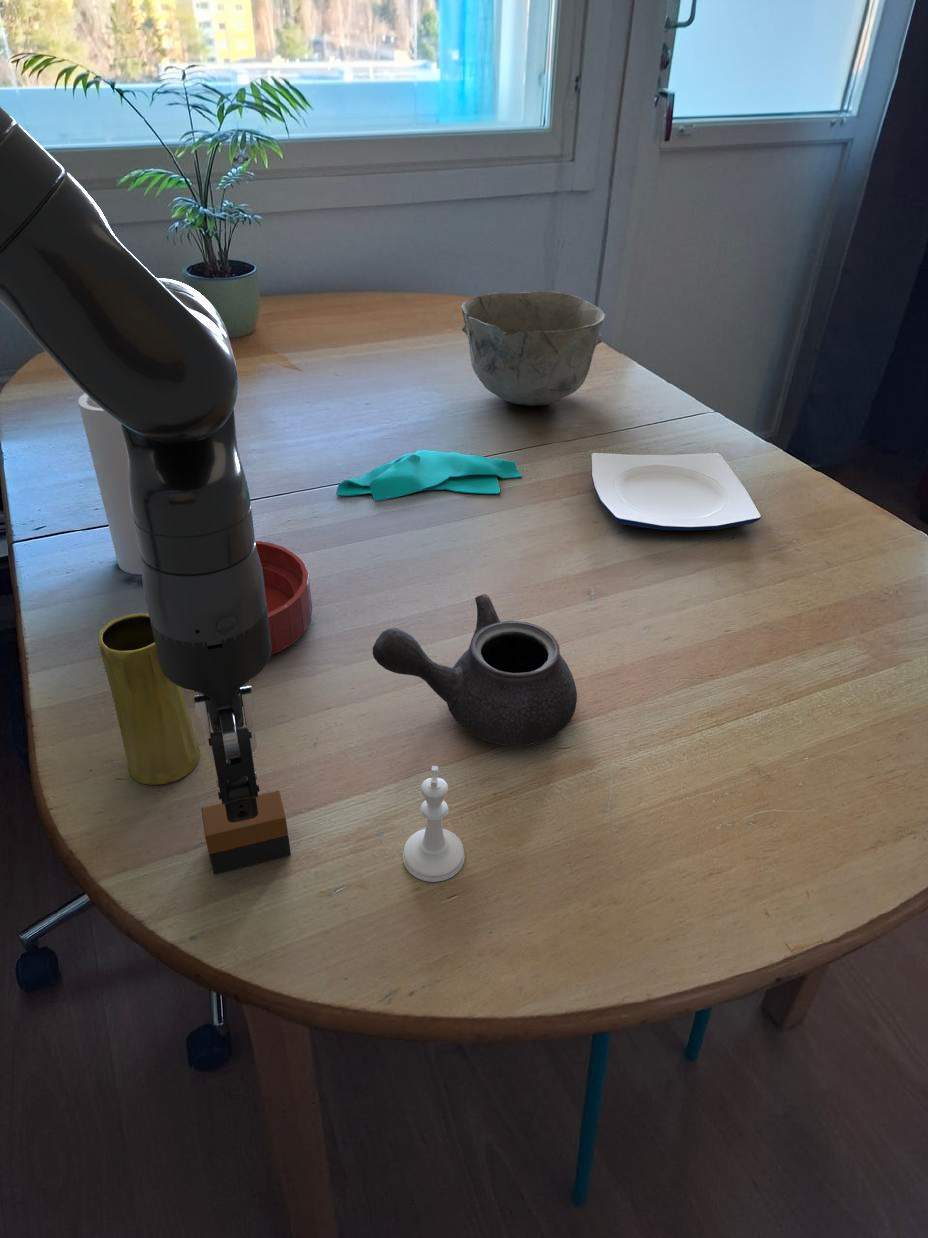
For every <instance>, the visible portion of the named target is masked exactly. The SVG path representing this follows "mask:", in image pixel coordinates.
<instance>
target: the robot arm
mask: <svg viewBox="0 0 928 1238" xmlns="http://www.w3.org/2000/svg"><path fill="white" fill-rule="evenodd" d="M0 303H1V304H2V305H3V306H4V307H5V308H6V309H7V310H8V311H9V312H10V313H11V314H12V315H13V316H14V317H15V318H16V320H17V321H18V322H19V323H20V324H21V325H22V326H23V327H24V329H25V330H26V331H27V333H28V334H29V335H30V336H31V337H32V338H33V340H35V342H36V343H37V344H38V345H39V346H40V347H41V348H42V349H43V350H44V351H45V353H47V355H48V356H49V357H50V358H51V359H52V360H53V361H54V362H55V363H56V364H57V366H59V368H61V369H62V371H63V372H64V373H65V374H66V375H67V376H68V377H69V378H70V379H71V380H72V381H73V382H74V384H76V385H77V386H78V387H79V388H80V390H81V391H83V392H84V394H85V393H86V394H87V395H88V396H89V397H90V398H91V399H92V400H93V401H94V402H95V403H96V404H97V405H98V406H100V407H101V408H102V409H103V410H104V411H105V412H107V413H108V414H109V415H110V416H112V417H113V418H114V419H115V420H117V421H118V422H120V423H121V427H122V431H123V435H124V440H125V444H126V448H127V453H128V461H129V495H130V505H131V511H132V517H133V521H134V526H135V530H136V535H137V540H138V545H139V549H140V553H141V561H142V575H141V581H142V587H143V593H144V598H145V603H146V607H147V612H148V614H149V617H150V622H151V627H152V631H153V636H154V641H155V645H156V650H157V655H158V659H159V664H160V668H161V670H162V672H163V674H164V675H165V676H166V677H167V678H168V679H169V680H170V681H171V682H172V683H174V684H176V685H178V686H180V687H182V689H186V690H188V691H193V693H197V694H193V696H192V697H193V702H194V709H195V715H196V718H197V719H198V720H199V721H200V722H201V728H202V735H203V740H204V746H205V751H206V756H207V758H208V759H209V760H212V761H213V762H214V766H215V771H216V772H215V773H216V777H217V779H216V786H217V788H218V789H219V791H218V792H217V795H218V800H221V803H222V804H225V809H226V814H227V820H228V821H229V822H239V821H243V820H248V819H252V818H255V817H256V816H257V815H258V808H257V801H256V797H258V795H259V792H261V791H260V790H261V789H260V784H259V783H257V780H258V777H257V772H256V771H255V764H254V758H253V752H255V751H256V750H257V747H258V743H257V738H256V731H255V724H254V718H253V710H254V708H255V702H254V696H253V690H252V685H246V684H249V683H250V681H251V680H254V678H256V677H257V676H258V675H260V674H261V673H262V672H263V671H264V670H265V668H266V667H267V666H268V664H269V662H270V660H271V657H272V655H271V651H272V647H271V638H270V630H269V621H268V612H267V604H266V596H265V587H264V577H263V571H262V566H261V562H260V558H259V555H258V552H257V548H256V542H255V540H256V537H255V529H254V528H255V527H254V520H253V511H252V504H251V496H250V490H249V485H248V482H247V478H246V473H245V470H244V467H243V463H242V460H241V456H240V452H239V448H238V439H237V429H236V427H237V426H236V416H235V406H236V403H237V399H238V394H239V384H240V383H239V370H238V365H237V361H236V358H235V355H234V351H233V348H232V344H231V341H230V337H229V333H228V330H227V327H226V325H225V323H224V320H223V319H222V317H221V315H220V313H219V312H218V310H217V309H216V308H215V306H214V305H213V304H212V303H211V302H210V301H209V300H208V298H206V297H205V296H204V295H202V294H201V293H200V292H199V291H197V290H196V289H194V288H193V287H191V286H189V285H187V284H185V283H184V282H183V283H182V282H181V281H178V280H174V279H169V278H160V277H159V278H157V277H155V275H154V274H153V273H152V272H151V271H150V270H148V268H147V267H145V266H144V264H142V263H141V262H140V260H139V259H137V258H136V257H135V256H134V254H132V253H131V252H130V251H129V250H128V249H127V248H126V247H125V246H124V244H123V243H121V241H120V240H119V239H118V238H117V236H115V233H114V232H113V231H112V228H111V226H110V225H109V223H108V220H107V219H106V217H105V216H104V213H103V211H102V210H101V208H100V207H99V205H98V204H97V203H96V202H95V200H94V199H93V198H92V197H91V196H90V194H88V192H87V191H86V190H85V188H83V186H82V185H81V184H80V183H79V182H78V181H77V180H76V179H75V178H74V177H73V176H72V175H71V174H70V173H69V172H68V171H65V168H64V167H63V166H62V165H61V163H59V162H58V161H57V160H56V159H55V158H54V157H53V156H52V155H51V154H50V153H49V152H48V151H47V150H46V149H45V148H44V147H43V146H42V145H41V144H40V143H39V142H38V141H37V140H36V139H34V137H32V136H31V134H29V132H27V130H25V128H24V127H22V125H20V123H18V122H16V120H15V119H14V118H13V117H12V116H11V114H9V112H7V111H6V110H5V109H4V108H3V107H2V106H1V105H0Z"/></svg>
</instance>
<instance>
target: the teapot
mask: <svg viewBox="0 0 928 1238" xmlns="http://www.w3.org/2000/svg"><path fill="white" fill-rule="evenodd" d="M474 600H475V604H476V626H475V628H474V631H473V635H472V637H471V640H470V642H469V647H468V648H467V650H466V651H465V652H464V653H463V654H462V655H461V656H460V658H459V659H457V662H456V663H455V664H454V666H453V667H451V666H446V665H443V664H439V663H437V662H435V661H433V660H432V659H431V658H430V657H429V656H428V655H427V654H426V652H425V651H424V650H423V648H422V646H421V645H420V643H419V642H418V641H417V640H416V639H415V637H414V636H413V635H411V634H410V633H408V632H406V631H404V630H402V629H400V628H397V627H390V628H387V629H385V630H383V631H382V632H381V633H380V635H379V636H378V637H377V638H376V640H375V642H374V644H373V646H372V656H373V659H374V661H376V663H377V664H378V665H379V666H381V667H382V668H384V669H385V670H387V671H389V672H392V673H394V674H398V675H407V676H413V677H418V678H419V679H421V680H423V681H424V682H425V683H426V684H427V685H428V687H429V688H430V689H431V690H433V692H434V693H435V694H436V695H438V697H440V698H441V699H442V700H443V701H444V702H445V703H446V705H447V708H448V711H449V714H451V716H452V717H453V719H454V720H455V722H456V723H457V724H458V725H460V727H461V728H462V729H463V730H465V731H466V732H467V733H469V734H471V735H472V736H474V737H476V738H478V739H481V740H483V741H486V742H487V743H488V742H489V743H490V744H491V743H492V744H496V745H502V746H510V747H511V746H512V747H513V746H514V747H516V746H527V745H534V744H538V743H541V742H543V741H546V740H548V739H550V738H552V737H554V736H556V735H558V734H559V733H560V732H562V731H563V730H564V729H565V728H566V726H567V725H568V724H569V723H570V722H571V721H572V719H573V716H574V714H575V712H576V708H577V703H578V702H577V701H578V693H577V691H578V690H577V687H576V686H577V685H576V682H575V679H574V676H573V674H572V671H571V669H570V667H569V665H568V664H567V662H566V660H565V659H564V657H563V656H562V655H561V652H560V651H561V650H560V645H559V642H558V640H557V639H556V638H555V636H554V635H553V634H551V632H549V630H547V629H545V628H543V627H541V626H540V625H538V624H534V623H531V622H527V621H518V620H506V621H505V620H503V621H501V620H500V618H499V616H498V613H497V611H496V609H495V607H494V605H493V602H492V599H491V598H490V596H489V595H488V594H486V593H484V594H480V595H477V596H476V597H475V598H474Z"/></svg>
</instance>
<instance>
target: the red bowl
mask: <svg viewBox="0 0 928 1238" xmlns="http://www.w3.org/2000/svg"><path fill="white" fill-rule="evenodd" d="M255 542H256V548H257V552H258V555H259V558H260V562H261V566H262V571H263V577H264V587H265V596H266V604H267V612H268V621H269V630H270V638H271V647H272V651H271V656H272V655H274V654H277V653H279V652H281V651H282V650H284V649H286V648H288V647H290V646H291V645H293V644H294V643H295V642H296V641H297V640H298V639H299V638H300V637H301V636H303V635H304V633H305V631H306V630H307V628H308V627H309V624H310V623H311V621H312V614H313V603H312V592H311V582H310V573H309V570H308V567H307V564H306V562H305V561H304V560H303V559H302V558H301V556H299V555H298V554H297V553H296V552H294V551H292V550H290V549H289V548H286V547H285V546H282V545H279V544H275V543H273V542H269V541H263V540H256V539H255Z"/></svg>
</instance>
